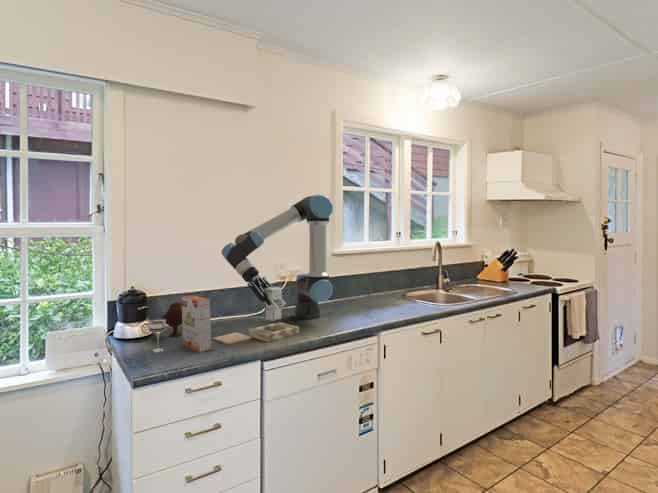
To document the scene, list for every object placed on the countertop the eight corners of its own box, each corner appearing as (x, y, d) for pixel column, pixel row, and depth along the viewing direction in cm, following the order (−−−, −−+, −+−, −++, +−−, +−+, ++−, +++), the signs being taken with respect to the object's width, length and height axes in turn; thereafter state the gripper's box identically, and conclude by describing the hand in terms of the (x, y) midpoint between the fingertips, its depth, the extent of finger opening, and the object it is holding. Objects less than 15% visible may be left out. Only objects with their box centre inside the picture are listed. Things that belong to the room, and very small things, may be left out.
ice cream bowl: (162, 333, 193) (161, 301, 192) (187, 331, 197) (186, 300, 196) (162, 339, 183) (160, 306, 182) (188, 337, 187) (187, 304, 186)
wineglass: (169, 347, 171) (168, 318, 171) (163, 352, 165) (162, 322, 164) (153, 347, 171) (152, 319, 170) (146, 353, 164) (145, 323, 164)
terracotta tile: (236, 334, 191) (236, 332, 191) (251, 338, 183) (251, 337, 183) (213, 339, 182) (213, 337, 182) (228, 344, 174) (228, 343, 174)
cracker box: (182, 346, 173) (180, 296, 172) (195, 343, 177) (194, 294, 176) (198, 353, 163) (196, 300, 162) (212, 350, 167) (210, 298, 166)
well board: (279, 328, 201) (279, 322, 201) (299, 333, 191) (299, 326, 191) (248, 335, 188) (248, 329, 188) (268, 341, 178) (267, 334, 178)
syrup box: (273, 317, 193) (272, 286, 192) (282, 318, 189) (281, 287, 188) (264, 319, 189) (263, 288, 188) (273, 321, 185) (272, 289, 184)
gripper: (253, 273, 202) (284, 308, 198) (230, 279, 183) (264, 318, 179) (262, 263, 200) (294, 298, 196) (240, 268, 181) (275, 306, 177)
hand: (280, 307), depth 187 cm, fingers closed on syrup box, 7 cm apart
